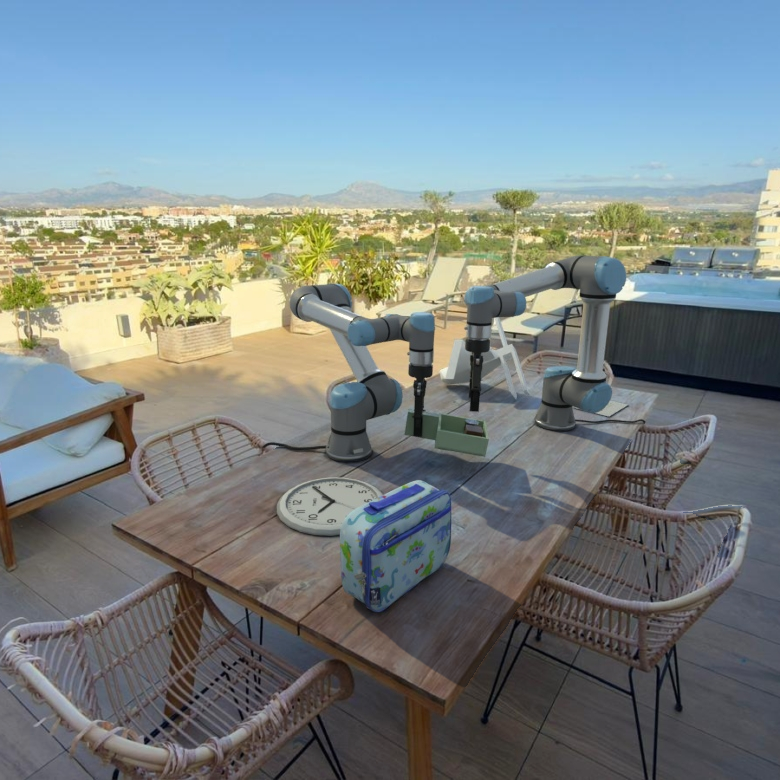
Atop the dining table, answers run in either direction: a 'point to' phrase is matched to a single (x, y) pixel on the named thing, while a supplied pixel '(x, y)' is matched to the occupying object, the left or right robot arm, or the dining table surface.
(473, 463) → the dining table surface
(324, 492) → the wall clock
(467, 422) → the grey metal peg
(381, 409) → the left robot arm
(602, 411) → the invitation card
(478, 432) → the walnut block
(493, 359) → the white plastic object
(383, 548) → the lunch box
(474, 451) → the tray
